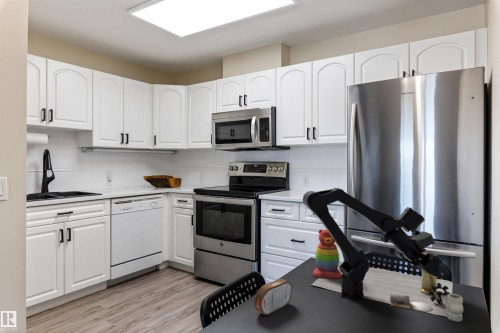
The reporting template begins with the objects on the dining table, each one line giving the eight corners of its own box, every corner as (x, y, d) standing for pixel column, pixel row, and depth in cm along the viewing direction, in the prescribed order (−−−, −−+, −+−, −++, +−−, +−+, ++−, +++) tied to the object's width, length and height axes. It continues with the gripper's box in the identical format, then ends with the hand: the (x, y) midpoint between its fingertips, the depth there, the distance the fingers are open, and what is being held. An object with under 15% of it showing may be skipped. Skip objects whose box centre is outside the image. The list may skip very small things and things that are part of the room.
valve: (470, 323, 88) (449, 303, 100) (471, 299, 88) (449, 283, 100) (445, 321, 89) (427, 302, 101) (446, 298, 89) (427, 282, 101)
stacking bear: (313, 277, 123) (313, 231, 122) (313, 268, 132) (313, 226, 132) (341, 279, 120) (342, 233, 120) (340, 270, 130) (340, 227, 130)
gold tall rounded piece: (422, 294, 107) (422, 256, 107) (419, 288, 112) (420, 252, 112) (438, 296, 105) (439, 257, 105) (435, 290, 110) (436, 253, 110)
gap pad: (411, 309, 96) (411, 308, 96) (408, 301, 102) (408, 300, 102) (433, 312, 94) (433, 312, 94) (430, 304, 100) (430, 303, 100)
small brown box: (390, 305, 99) (390, 296, 99) (389, 299, 103) (389, 290, 103) (410, 308, 97) (410, 299, 97) (408, 301, 101) (408, 293, 101)
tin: (286, 300, 103) (286, 274, 102) (293, 303, 100) (293, 277, 100) (253, 316, 92) (253, 287, 92) (261, 320, 90) (261, 291, 90)
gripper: (436, 230, 99) (469, 265, 100) (403, 219, 117) (431, 248, 118) (412, 256, 98) (445, 290, 99) (382, 241, 117) (411, 270, 118)
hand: (433, 272), depth 109 cm, fingers open, 8 cm apart
